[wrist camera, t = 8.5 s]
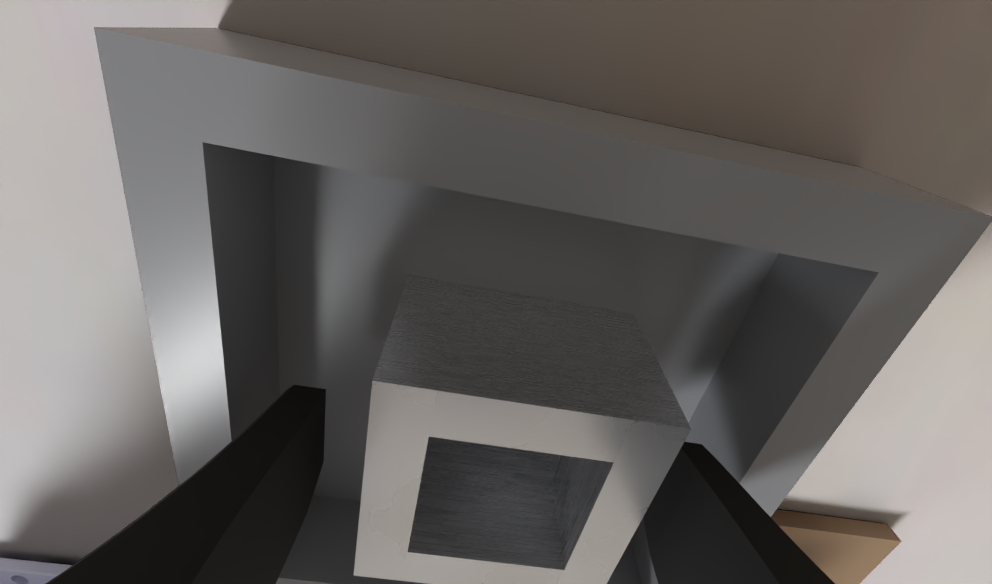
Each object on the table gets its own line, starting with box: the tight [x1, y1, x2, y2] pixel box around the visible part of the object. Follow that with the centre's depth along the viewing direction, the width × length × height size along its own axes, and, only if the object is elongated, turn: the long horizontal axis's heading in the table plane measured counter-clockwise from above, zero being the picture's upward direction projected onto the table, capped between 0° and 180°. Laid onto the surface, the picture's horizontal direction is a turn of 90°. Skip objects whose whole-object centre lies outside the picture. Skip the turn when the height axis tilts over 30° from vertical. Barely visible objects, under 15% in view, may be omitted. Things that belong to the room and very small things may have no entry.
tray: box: [94, 27, 992, 584], centre depth 11 cm, size 13×13×3 cm
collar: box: [354, 274, 691, 584], centre depth 10 cm, size 5×5×4 cm
